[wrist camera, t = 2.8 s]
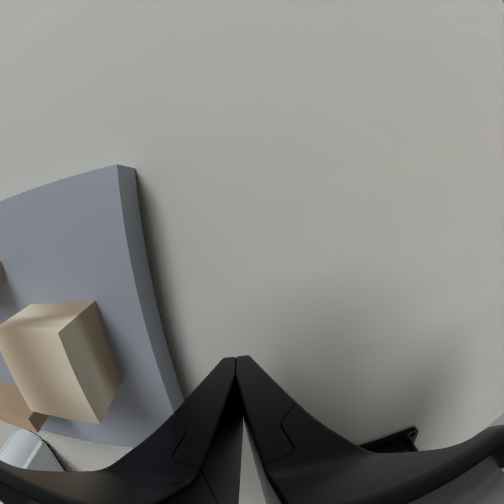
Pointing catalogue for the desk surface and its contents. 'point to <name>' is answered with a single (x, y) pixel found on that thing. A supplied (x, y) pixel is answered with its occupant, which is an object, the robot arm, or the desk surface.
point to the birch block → (61, 360)
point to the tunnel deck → (89, 295)
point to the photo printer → (28, 452)
